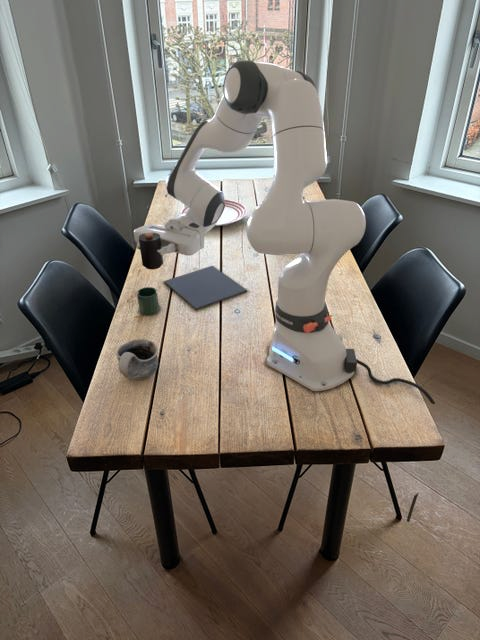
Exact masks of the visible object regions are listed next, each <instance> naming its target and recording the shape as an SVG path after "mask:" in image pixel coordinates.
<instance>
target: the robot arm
mask: <svg viewBox="0 0 480 640" xmlns="http://www.w3.org/2000/svg"><path fill="white" fill-rule="evenodd" d="M222 86H223V87H222V90H223V95H222V96H221V99H220V102H219V103H218V106H217V107H216V108H217V109H216V111H215V114H214V115H213V117H212V118H211V119H209V120H208V119H206V120H204V121H202V122H201V123H199V125H198V126H197V127H196V129H195V130H194V131H193V133H192V134H191V136H190V137H189V139H188V141H187V143H186V145H185V147H184V149H183V150H182V152H181V153H180V156H179V158H178V159H177V161H176V163H175V165H174V166H172V169H170V171H169V173H168V174H167V177H166V178H165V188H166V192H167V194H168V195H169V196H170V197H172V198H173V199H175V200H176V201H178V202H180V203H181V204H183V205H184V207H185V206H187V207H188V208H189V209H188V210H187V211H185V212H184V213H183V214H181V213H179V214H176V216H174V217H172V218H170V219H168V220H167V221H166V222H165V224H164V225H160V224H157V223H148V224H144V225H142V226H140V227H137V228H135V229H134V230H133V238H134V242H135V243H136V249H137V250H140V245H139V236H140V235H142V234H144V233H150V232H153V233H158V234H159V235H160V238H161V246H162V247H159V248H158V249H157V254H159V255H162V256H163V257H164V255H166V254H172V253H176V254H180V255H184V256H187V257H188V256H193V255H195V254H197V253H198V252H199V251H200V250H203V249H204V248H205V235H206V234H207V233H208V232H210V231H211V230H213V228H214V227H216V226H215V224H216V223H217V221H218V220H219V218H220V217H221V215H222V213H223V211H224V208H225V199H226V198H225V194H224V192H223V191H222V190H220V188H218V187H217V186H216V185H214V184H213V183H211V181H208V180H207V178H205V177H203V176H202V175H201V174H199V172H197V169H196V168H195V167H196V165H197V163H198V161H199V160H200V158H201V156H202V155H203V154H204V152H205V150H211V151H214V152H217V153H221V154H236V153H240V152H242V151H244V150H245V149H247V148H248V146H249V145H250V144H251V142H252V140H253V138H254V136H255V134H256V132H257V129H258V127H259V125H260V123H261V120H262V118H264V119H266V120H270V123H271V139H272V150H273V151H272V152H273V176H272V182H271V185H270V188H269V190H268V192H267V194H266V196H265V197H264V199H263V200H262V201H261V203H259V204H258V205H257V206H256V208H254V209H253V210H252V212H251V213H250V215H249V217H248V219H247V222H246V227H245V231H246V233H245V234H246V238H247V241H248V243H249V244H250V247H251V248H252V249H253V250H254V251H255V252H256V253H257V254H260V255H261V254H263V255H270V256H289V255H299V256H298V257H297V258H295V259H294V260H292V261H290V262H289V263H287V264H286V265H285V266H284V267H283V268H282V270H281V271H280V273H279V275H278V282H277V300H276V302H275V306H274V317H275V324H274V328H273V331H272V336H271V342H270V345H269V349H268V353H269V355H268V356H267V358H266V365H267V366H269V367H270V368H272V369H274V370H275V371H278V372H279V373H281V374H283V375H284V376H286V377H288V378H290V379H291V380H293V381H295V382H297V383H298V384H300V385H302V386H303V387H305V388H307V389H309V391H310V390H311V391H312V392H323V391H327V390H330V389H333V388H336V387H338V386H340V385H342V384H344V383H345V382H347V381H348V380H350V379H351V378H352V377H353V376H354V374H355V373H356V371H357V365H360V366H362V367H363V368H365V369H366V371H367V375H368V378H369V379H370V380H371V381H373V382H374V383H376V384H379V385H380V384H381V385H389V384H392V383H395V382H399V383H404V384H407V385H410V386H412V387H414V388H416V389H417V390H418V391H420V392H421V393H422V394H423V395H424V396H425V397H426V398H427V399H428V401H429V402H430V403H431V404H432V405H435V404H436V402H435V401H434V399H433V398H432V396H431V395H430V394H429V392H427V391H426V390H425V388H423V387H422V386H421V385H419V384H418V383H415V382H413V381H411V380H407V379H404V378H399V377H393V378H391V379H388V380H381V379H377V378H376V377H374V376H373V374H372V370H371V368H370V366H369V365H368V364H367V363H365V362H363V361H361V360H359V359H357V356H356V352H355V348H346V345H345V344H344V343H343V337H342V335H341V334H340V333H336V330H335V329H334V328H333V326H332V325H331V323H330V321H331V320H332V319H333V318H332V317H333V315H332V314H330V315H329V314H328V309H327V306H326V295H327V290H328V289H327V288H328V283H329V279H330V276H331V274H332V272H333V270H334V269H335V267H336V265H337V263H338V262H339V261H340V260H341V259H342V257H343V256H344V255H345V254H347V252H349V251H350V250H351V249H353V248H354V247H356V246H357V245H359V243H360V242H361V241H362V239H363V238H364V236H365V232H366V227H367V220H366V219H367V218H366V215H365V213H364V210H363V209H362V207H361V206H360V205H359V204H358V203H357V202H356V201H351V200H346V199H339V198H338V199H336V198H332V199H318V200H317V199H316V200H304V197H303V194H304V189H306V188H307V187H309V186H311V185H313V184H314V183H316V182H317V181H318V180H319V179H321V178H322V177H323V175H324V174H325V172H326V170H327V166H328V156H327V145H326V133H325V123H324V116H323V110H322V105H321V102H320V98H319V95H318V91H317V89H316V84H315V82H314V79H312V78H311V77H310V75H308V74H306V73H305V72H302V71H300V70H293V69H290V68H288V67H284V66H280V65H278V64H275V63H269V62H258V61H253V60H250V59H244V60H237V61H235V62H233V63H232V64H231V65H230V67H229V68H228V70H227V71H226V73H225V75H224V79H223V84H222ZM418 496H419V492H417V493H416V494H415V495H413V498H412V501H411V505H410V508H409V510H408V514H407V518H406V522H407V523H410V522H411V517H412V514H413V511H414V508H415V505H416V502H417V499H418Z"/></svg>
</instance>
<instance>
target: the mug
mask: <svg viewBox="0 0 480 640" xmlns="http://www.w3.org/2000/svg"><path fill="white" fill-rule="evenodd" d="M158 347H159V346H158V345H157V344H156V343H155V342H154V341H152V340H151V339H146V338H136V339H135V338H134V339H132V340H128V341H126V342H125V343H122V344H121V345H120V346H119V347H118V348H117V349H116V353H115V354H116V358H117V361H118V371H119V373H120V374H121V375H122V376H123V377H125V378H126V379H128V380H130V381H143V380H147V379H149V378H150V377H152V376H153V375H154V374H155V373H156V372H157V370H158V366H159V357H158V354H159V348H158Z"/></svg>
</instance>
